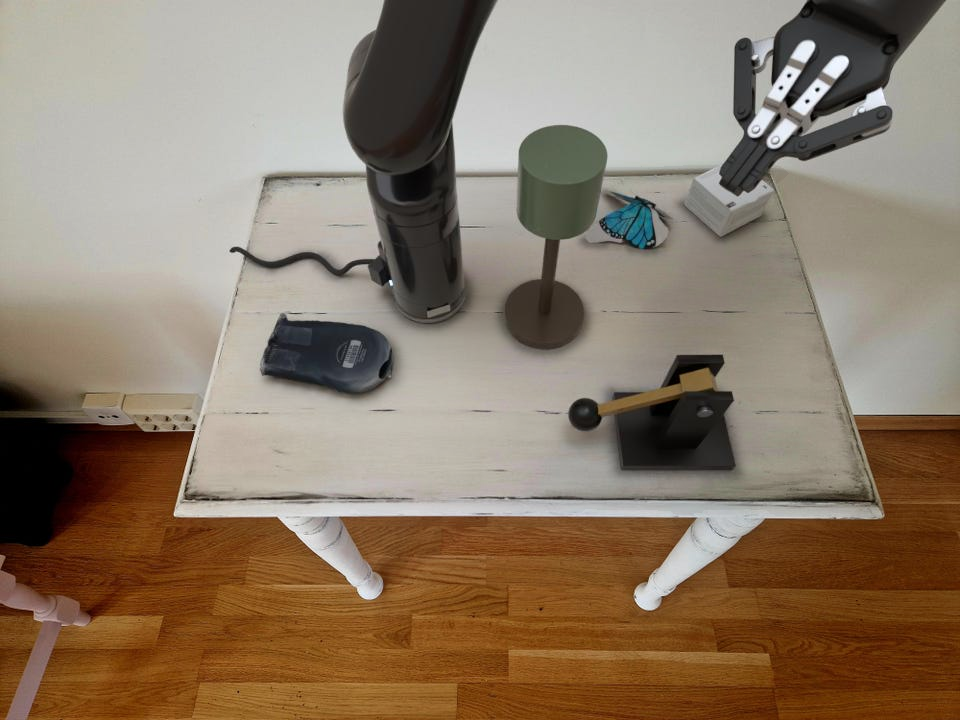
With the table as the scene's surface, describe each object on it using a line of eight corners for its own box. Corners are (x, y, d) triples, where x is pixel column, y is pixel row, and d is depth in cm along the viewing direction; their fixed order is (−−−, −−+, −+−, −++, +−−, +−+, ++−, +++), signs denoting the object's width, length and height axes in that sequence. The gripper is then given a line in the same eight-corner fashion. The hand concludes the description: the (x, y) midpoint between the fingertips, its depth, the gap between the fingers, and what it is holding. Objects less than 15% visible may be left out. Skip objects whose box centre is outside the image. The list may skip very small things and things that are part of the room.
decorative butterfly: (671, 242, 74) (601, 209, 74) (647, 270, 80) (583, 239, 80) (687, 191, 79) (621, 159, 79) (664, 220, 84) (603, 191, 84)
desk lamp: (489, 323, 73) (485, 161, 51) (533, 274, 77) (548, 104, 55) (554, 363, 70) (579, 208, 48) (597, 310, 74) (639, 144, 52)
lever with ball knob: (578, 439, 62) (563, 428, 60) (575, 409, 64) (561, 397, 62) (722, 406, 55) (712, 391, 52) (715, 373, 57) (705, 358, 54)
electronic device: (269, 394, 70) (383, 401, 67) (248, 366, 66) (369, 372, 63) (297, 337, 76) (403, 341, 73) (280, 308, 72) (392, 311, 68)
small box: (722, 184, 85) (735, 156, 80) (761, 217, 81) (776, 189, 77) (682, 204, 83) (692, 176, 78) (719, 239, 79) (732, 211, 75)
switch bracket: (621, 469, 63) (647, 420, 52) (612, 396, 67) (634, 337, 56) (731, 470, 62) (782, 420, 51) (715, 396, 67) (758, 336, 56)
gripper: (811, -102, 38) (648, 137, 45) (1017, -31, 33) (798, 229, 39) (817, -41, 44) (674, 160, 51) (991, 27, 39) (806, 242, 46)
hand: (728, 190), depth 45 cm, fingers closed
